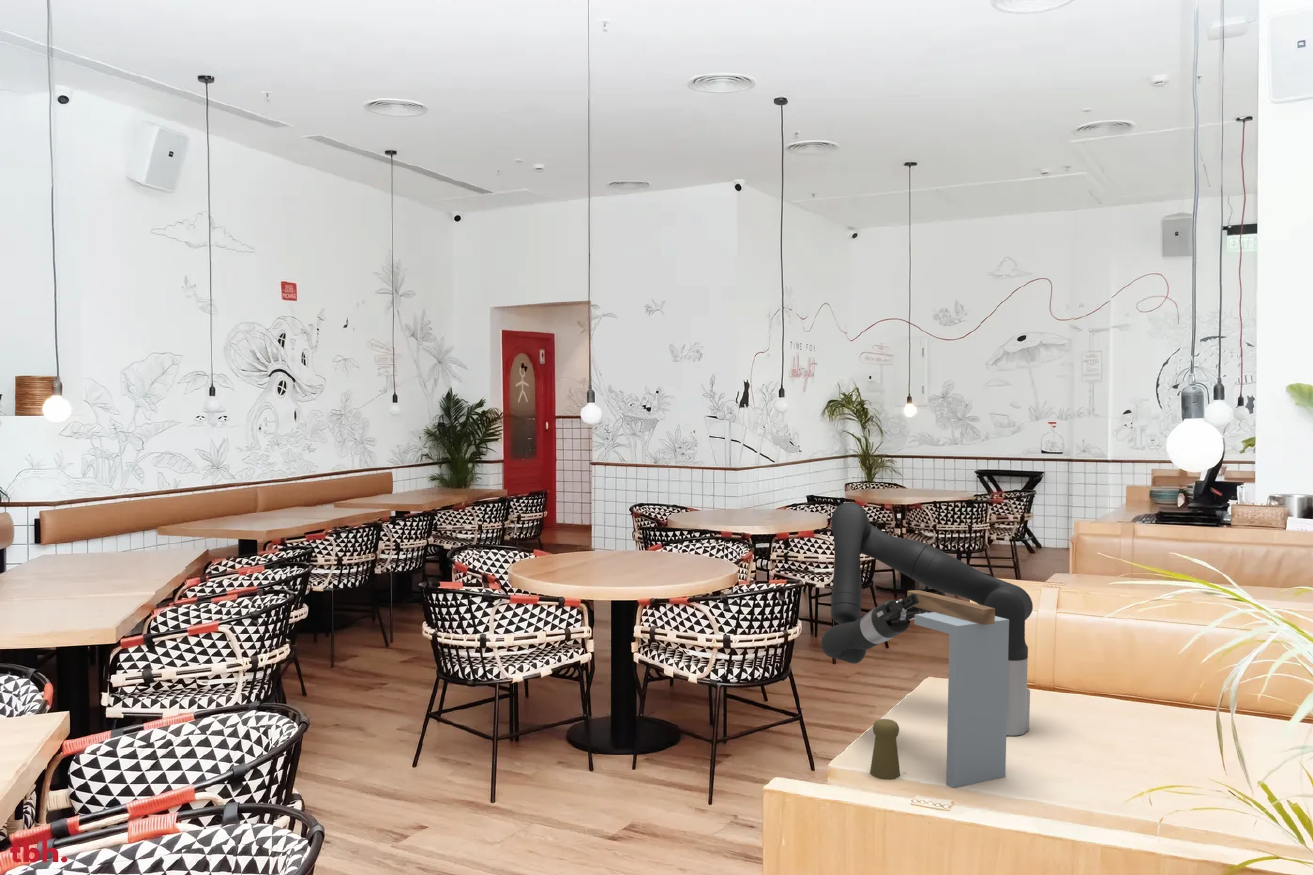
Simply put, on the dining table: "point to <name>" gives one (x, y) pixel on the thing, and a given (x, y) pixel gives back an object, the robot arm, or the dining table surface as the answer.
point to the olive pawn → (885, 750)
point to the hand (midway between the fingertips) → (930, 596)
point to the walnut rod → (954, 607)
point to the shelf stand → (974, 697)
